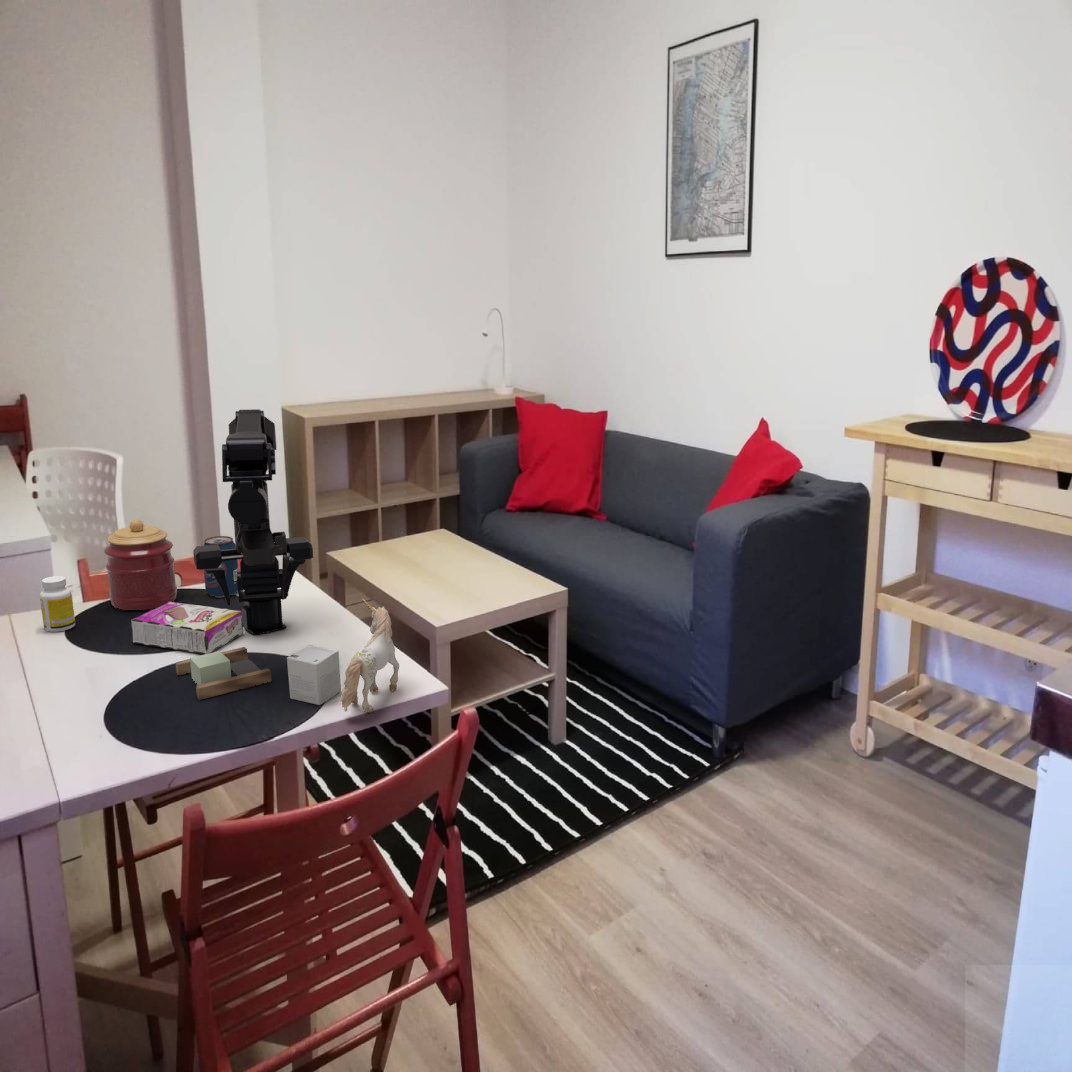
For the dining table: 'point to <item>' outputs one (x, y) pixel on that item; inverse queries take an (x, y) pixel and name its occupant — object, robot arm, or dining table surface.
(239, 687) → the channel
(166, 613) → the candy bar box
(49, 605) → the supplement bottle
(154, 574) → the canister
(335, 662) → the skincare box
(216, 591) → the soda can
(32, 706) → the dining table surface
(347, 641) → the dining table surface
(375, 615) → the unicorn figurine
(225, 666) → the sage block
